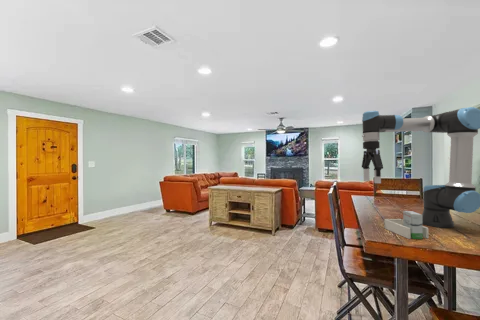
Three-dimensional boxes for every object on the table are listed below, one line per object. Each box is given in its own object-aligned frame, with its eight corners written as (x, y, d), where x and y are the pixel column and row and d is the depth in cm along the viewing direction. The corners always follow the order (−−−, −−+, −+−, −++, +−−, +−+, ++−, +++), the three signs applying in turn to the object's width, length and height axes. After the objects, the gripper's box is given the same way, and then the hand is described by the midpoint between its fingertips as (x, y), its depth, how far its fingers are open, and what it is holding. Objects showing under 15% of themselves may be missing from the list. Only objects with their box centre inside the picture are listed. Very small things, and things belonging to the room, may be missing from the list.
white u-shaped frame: (401, 227, 129) (401, 218, 129) (428, 238, 112) (428, 227, 112) (384, 228, 129) (384, 219, 129) (408, 238, 111) (408, 228, 111)
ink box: (423, 239, 110) (423, 214, 110) (411, 238, 111) (411, 214, 111) (413, 233, 119) (413, 210, 119) (402, 233, 120) (402, 210, 120)
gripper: (355, 143, 133) (355, 179, 133) (373, 139, 109) (374, 184, 108) (368, 142, 132) (369, 179, 132) (390, 138, 107) (391, 184, 107)
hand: (371, 182), depth 120 cm, fingers open, 13 cm apart
